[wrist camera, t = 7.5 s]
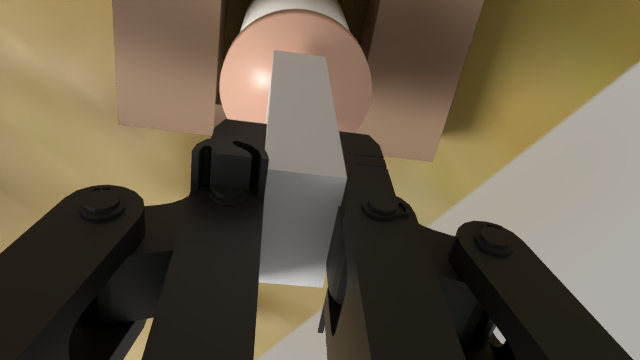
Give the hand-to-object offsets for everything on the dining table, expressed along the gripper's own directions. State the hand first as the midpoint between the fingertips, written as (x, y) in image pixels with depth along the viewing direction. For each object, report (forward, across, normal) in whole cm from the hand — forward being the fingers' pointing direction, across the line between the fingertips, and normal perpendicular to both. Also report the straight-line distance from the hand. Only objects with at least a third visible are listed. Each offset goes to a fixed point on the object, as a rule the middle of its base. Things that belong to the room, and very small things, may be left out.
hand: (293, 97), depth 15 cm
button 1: (+8, 0, 0) cm, 8 cm away
